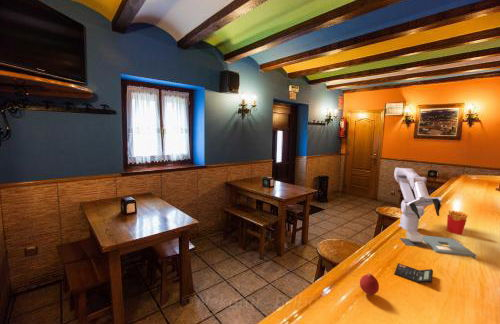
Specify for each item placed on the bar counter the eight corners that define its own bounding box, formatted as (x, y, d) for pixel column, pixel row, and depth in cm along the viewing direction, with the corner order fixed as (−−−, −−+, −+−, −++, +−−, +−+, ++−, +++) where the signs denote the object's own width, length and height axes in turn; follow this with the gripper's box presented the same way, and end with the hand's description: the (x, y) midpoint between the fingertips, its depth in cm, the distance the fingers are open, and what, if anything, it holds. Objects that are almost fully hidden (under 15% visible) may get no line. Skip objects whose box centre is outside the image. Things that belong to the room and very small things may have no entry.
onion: (371, 288, 85) (374, 268, 84) (381, 300, 80) (384, 278, 78) (355, 288, 85) (358, 268, 84) (364, 300, 80) (366, 278, 78)
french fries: (444, 230, 138) (447, 210, 136) (446, 228, 140) (450, 209, 138) (463, 236, 131) (467, 215, 129) (465, 234, 133) (469, 213, 131)
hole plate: (418, 238, 126) (418, 234, 126) (452, 242, 123) (453, 238, 123) (435, 254, 111) (436, 249, 110) (475, 258, 108) (476, 254, 107)
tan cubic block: (405, 239, 122) (406, 230, 121) (416, 240, 121) (417, 231, 120) (409, 244, 117) (411, 234, 117) (421, 245, 116) (422, 235, 116)
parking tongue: (398, 239, 124) (398, 237, 124) (419, 241, 122) (420, 239, 122) (405, 247, 116) (405, 245, 116) (428, 249, 115) (428, 247, 115)
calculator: (397, 264, 102) (398, 258, 101) (432, 276, 94) (433, 269, 94) (394, 275, 94) (395, 268, 94) (430, 288, 87) (432, 281, 87)
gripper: (403, 192, 126) (408, 213, 116) (436, 186, 117) (444, 208, 108) (407, 201, 129) (412, 222, 119) (440, 195, 120) (448, 217, 111)
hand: (428, 216), depth 114 cm, fingers open, 7 cm apart
